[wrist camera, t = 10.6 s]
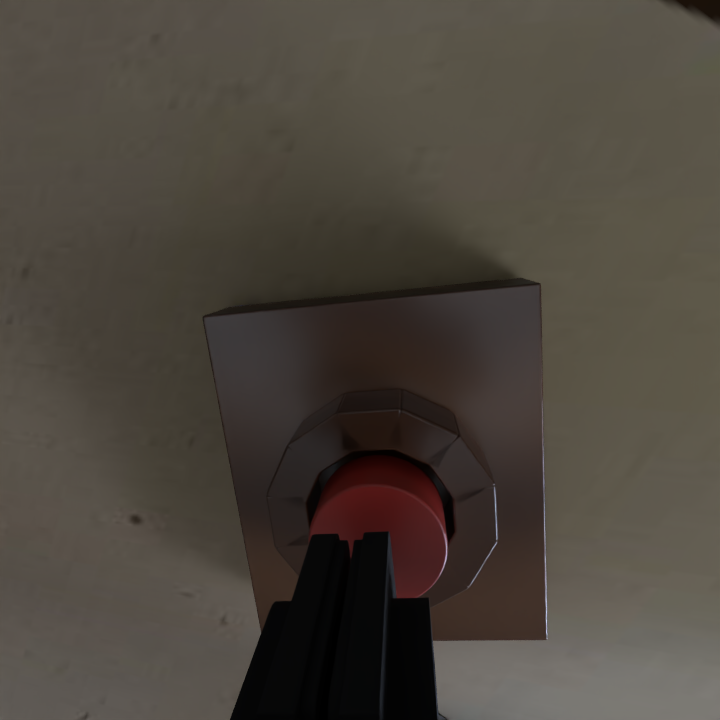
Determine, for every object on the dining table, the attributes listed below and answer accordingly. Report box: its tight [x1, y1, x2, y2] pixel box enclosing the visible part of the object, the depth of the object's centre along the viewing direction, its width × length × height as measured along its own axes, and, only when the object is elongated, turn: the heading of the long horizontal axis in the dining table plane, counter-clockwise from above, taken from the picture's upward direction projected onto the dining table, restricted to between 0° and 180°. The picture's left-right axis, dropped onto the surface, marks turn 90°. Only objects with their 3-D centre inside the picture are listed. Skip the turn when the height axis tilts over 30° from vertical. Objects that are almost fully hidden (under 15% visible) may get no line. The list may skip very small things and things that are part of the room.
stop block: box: [203, 278, 548, 641], centre depth 15 cm, size 12×10×4 cm
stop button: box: [308, 455, 448, 598], centre depth 13 cm, size 4×4×2 cm
